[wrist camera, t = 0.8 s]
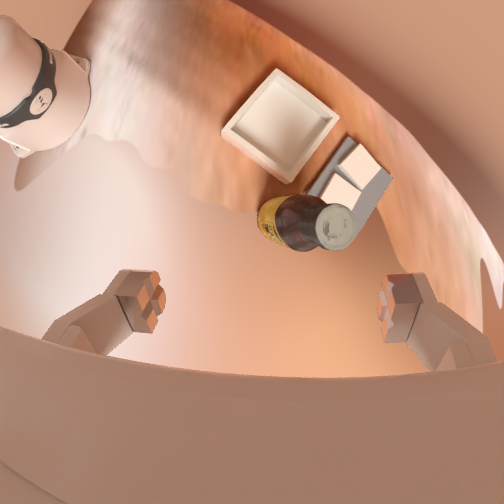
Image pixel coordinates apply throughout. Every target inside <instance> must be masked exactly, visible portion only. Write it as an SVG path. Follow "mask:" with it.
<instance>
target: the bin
mask: <svg viewBox="0 0 504 504" xmlns="http://www.w3.org/2000/svg"><path fill="white" fill-rule="evenodd" d="M339 118H340V117H339V116H338V115H337V114H336V113H334V112H333V111H332V110H331V109H330V108H328V107H327V106H326V105H325V104H324V103H322V102H321V101H320V100H319V99H317V98H316V97H315V96H314V95H312V94H311V93H310V92H308V91H307V90H306V89H304V88H303V87H302V86H301V85H299V84H298V83H297V82H295V81H294V80H292V79H291V78H290V77H288V76H287V75H286V74H284V73H283V72H281V71H280V70H279V69H277V68H276V69H275V70H274V71H273V72H272V73H271V74H270V75H269V76H268V77H267V78H266V80H265V81H264V82H263V83H262V84H261V85H260V86H259V87H258V88H257V90H256V91H255V92H254V93H253V94H252V95H251V96H250V97H249V99H248V100H247V101H246V102H245V103H244V104H243V105H242V107H241V108H240V109H239V110H238V111H237V112H236V114H235V115H234V116H233V117H232V118H231V120H230V121H229V122H228V123H227V124H226V126H225V127H224V128H223V129H222V131H221V136H220V137H222V138H223V139H224V140H226V141H227V142H229V143H230V144H231V145H233V146H234V147H235V148H237V149H238V150H240V151H241V152H242V153H244V154H245V155H246V156H248V157H249V158H250V159H252V160H253V161H254V162H256V163H257V164H258V165H260V166H261V167H262V168H264V169H265V170H266V171H268V172H269V173H270V174H272V175H273V176H274V177H275V178H277V179H278V180H279V181H281V182H282V183H283V184H285V185H286V184H289V183H292V181H293V180H294V178H295V177H296V176H297V174H298V173H299V172H300V170H301V169H302V168H303V166H304V165H305V164H306V162H307V161H308V159H309V158H310V157H311V155H312V154H313V153H314V151H315V150H316V149H317V147H318V146H319V145H320V143H321V142H322V141H323V139H324V138H325V137H326V135H327V134H328V133H329V131H330V130H331V129H332V127H333V126H334V124H335V123H336V122H337V120H338V119H339Z"/></svg>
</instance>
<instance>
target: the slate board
mask: <svg viewBox="0 0 504 504" xmlns="http://www.w3.org/2000/svg"><path fill="white" fill-rule="evenodd" d="M357 145H358V144H357V143H356V142H355V141H354V140H352V139H351V138H350V137H349V136H348V137H346V138H345V139H344V141H343V142H342V143H341V145H340V146H339V148H338V149H337V150H336V152H335V153H334V155H333V156H332V157H331V159H330V160H329V161H328V163H327V164H326V166H325V167H324V168H323V170H322V171H321V173H320V174H319V175H318V177H317V178H316V180H315V181H314V182H313V184H312V185H311V187H310V188H309V189H308V191H307V192H306V194H305V195H312V196H316V197H319V196H320V194H321V193H322V191H323V189H324V187H325V186H326V184H327V182H328V181H329V179H330V177H331V175H332V174H334V173H336V174H337V175H339V176H340V177H341V178H343V179H344V180H345V181H347V182H348V183H349V184H351V185H352V186H353V187H355V188H356V186H355V185H354V184H353V183H352V182H351V180H350V179H349V178H348V177H347V176H346V175H345V174H344V172H343V171H342V170H341V169H340V168H339V167H338V166H337V165H338V164H339V163H340V162H341V161H342V160H343V159H344V158H345V157H346V156H347V155H348V154H349V153H350V152H351V151H352V150H353V149H354V148H355V147H356V146H357ZM377 164H378V163H377ZM378 165H379V164H378ZM379 166H380V165H379ZM380 167H381V166H380ZM392 179H393V178H392V177H391V176H390V175H389V174H388V173H387V172H386V171H385V170H384V169H383V168H382V167H381V169H380V170H379V171H378V172H377V174H376V175H375V176H374V177H373V178H372V179H371V180H370V182H369V183H368V184H367V185H366V186H365V187H364V188H363V189H362V190H359V191H360V192H361V194H360V196H359V198H358V200H357V202H356V204H355V205H354V207H353V209H352V213H353V214H354V216H355V218H356V223H357V231H356V235H355V237H356V236H357V234H358V233H359V231H360V230H361V228H362V227H363V225H364V223H365V222H366V220H367V219H368V217H369V216H370V214H371V213H372V211H373V210H374V208H375V206H376V205H377V203H378V202H379V200H380V199H381V197H382V195H383V194H384V192H385V191H386V189H387V187H388V186H389V184H390V182H391V181H392ZM356 189H357V188H356ZM357 190H358V189H357Z"/></svg>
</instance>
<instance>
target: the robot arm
mask: <svg viewBox="0 0 504 504" xmlns="http://www.w3.org/2000/svg"><path fill="white" fill-rule="evenodd" d="M78 63H79V64H78ZM89 71H90V62H89V61H88V60H87V59H85V58H82V57H78V56H74V55H70V54H67V53H66V52H65V51H64V50H61V51H58V50H53V49H49V48H48V47H47V46H46V45H45V44H44V43H41V42H40V41H39V40H37V39H34V38H32V37H31V36H30V35H29V34H28V33H27V32H26V31H25V30H24V29H23V28H22V27H21V26H20V25H19V24H18V23H17V22H16V21H15V20H14V19H13V18H11V17H9V16H6V15H0V135H1V136H0V138H1V139H3V140H5V141H7V142H8V143H9V145H10V146H11V148H12V149H13V151H14V152H15V154H16V155H17V156H18V157H20V158H25V157H27V156H29V155H30V154H32V153H33V152H36V151H42V150H49V149H52V148H54V147H57V146H59V145H60V144H62V143H63V142H65V141H66V140H67V139H68V138H70V137H71V136H72V135H73V133H74V132H75V131H76V130H77V129H78V127H79V126H80V124H81V123H82V121H83V119H84V117H85V115H86V113H87V110H88V107H89V103H90V86H89V82H88V75H89ZM18 147H19V148H18ZM159 282H160V277H159V274H158V272H156V271H147V270H129V269H123V270H120V271H119V273H118V274H117V275H116V277H115V278H114V279H113V281H112V282H111V283H110V285H109V286H108V287H107V289H106V290H105V292H104V293H103V294H102V295H101V294H99V295H97V296H96V297H94V298H92V299H90V300H89V301H87V302H85V303H84V304H82V305H80V306H78V307H77V308H75V309H73V310H72V311H70V312H68V313H67V314H65V315H63V316H62V317H60V318H58V319H57V320H55V321H54V322H53V324H52V325H51V326H50V328H49V329H48V331H47V332H46V333H45V335H44V336H43V338H42V339H38V338H34V337H31V336H28V335H24V334H21V333H18V332H15V331H12V330H9V329H5V328H2V327H0V504H504V361H500V362H497V359H496V357H495V355H494V352H493V350H492V347H491V345H490V343H489V340H488V338H487V337H486V336H485V335H484V334H482V333H481V332H480V331H478V330H477V329H476V328H475V327H473V326H472V325H471V324H469V323H468V322H467V321H466V320H464V319H463V318H462V317H460V316H459V315H458V314H456V313H455V312H454V311H452V310H451V309H450V308H448V307H447V306H446V305H444V304H443V303H438V301H437V299H436V297H435V294H434V292H433V290H432V288H431V286H430V283H429V281H428V279H427V277H426V275H425V274H424V273H410V274H384V275H383V278H382V288H383V290H382V291H381V292H380V293H379V298H378V316H379V320H381V321H382V322H383V323H382V327H381V331H382V336H383V341H384V343H398V342H399V343H400V342H407V343H406V344H407V345H408V346H409V347H410V348H411V349H412V351H413V352H414V353H415V354H416V355H417V356H418V357H419V358H420V360H421V361H422V362H423V363H424V364H425V365H426V367H427V368H428V369H429V370H430V371H431V372H427V373H416V374H405V375H392V376H376V377H353V378H352V377H351V378H300V377H272V376H254V375H240V374H228V373H217V372H208V371H199V370H190V369H182V368H175V367H168V366H161V365H155V364H149V363H142V362H137V361H131V360H126V359H120V358H116V357H111V356H106V355H107V354H109V353H110V352H111V351H112V350H113V349H114V348H116V347H117V346H118V345H119V344H120V343H121V342H123V341H124V340H125V339H126V338H127V337H129V336H130V335H131V334H132V333H133V332H141V333H153V330H154V329H155V326H156V324H157V322H158V319H157V316H158V315H160V314H161V313H162V312H163V310H164V308H165V303H166V297H165V292H164V289H163V288H162V287H161V286H160V285H159Z"/></svg>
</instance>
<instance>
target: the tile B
mask: <svg viewBox="0 0 504 504" xmlns="http://www.w3.org/2000/svg"><path fill="white" fill-rule="evenodd" d="M337 166H338V167H339V168H340V169H341V170H342V171H343V172H344V174H345V175H346V176H347V177H348V178H349V179H350V180H351V182H352V183H353V184H354V185H355V186H356V188H357V189H358V190H362V189H363V188H364V187H365V186H366V185H367V184H368V183H369V182H370V180H371V179H372V178H373V177H374V176H375V175H376V174H377V172H378V171H379V170H380V169H381V167H380V166H379V165H378V164H377V162H376V161H375V160H374V159H373V158H372V156H371V155H370V154H369V153H368V152H367V150H366V149H365V148H364V147H363V146H362V145H361V144H358V145H357V146H356V147H355V148H354V149H353V150H352V151H351V152H350V153H349V154H348V155H347V156H346V157H345V158H344V159H343V160H342V161H341V162H340V163H339V164H338V165H337Z"/></svg>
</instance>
